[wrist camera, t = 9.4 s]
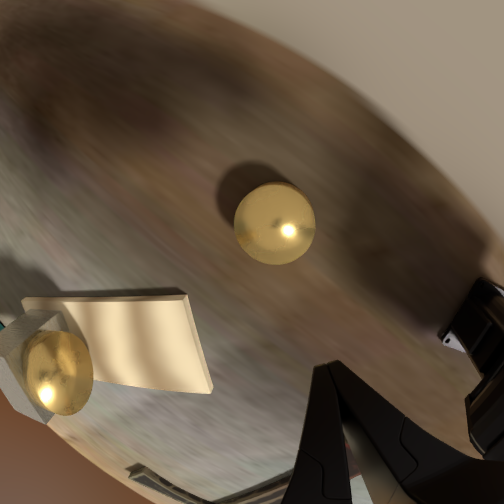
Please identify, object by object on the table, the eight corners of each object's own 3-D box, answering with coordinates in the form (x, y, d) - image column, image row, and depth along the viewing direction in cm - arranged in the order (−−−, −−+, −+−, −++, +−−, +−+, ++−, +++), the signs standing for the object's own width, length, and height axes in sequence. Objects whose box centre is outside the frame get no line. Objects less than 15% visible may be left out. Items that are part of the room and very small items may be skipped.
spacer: (325, 197, 20) (328, 204, 18) (297, 262, 22) (296, 275, 19) (255, 170, 20) (249, 173, 18) (232, 236, 22) (223, 247, 20)
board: (187, 294, 24) (182, 300, 23) (213, 386, 27) (210, 393, 26) (26, 297, 28) (20, 300, 27) (57, 366, 31) (52, 370, 30)
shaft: (73, 316, 25) (19, 363, 17) (103, 381, 27) (64, 432, 20) (-6, 309, 28) (-46, 338, 21) (18, 361, 30) (-16, 393, 23)
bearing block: (61, 310, 26) (4, 358, 18) (89, 372, 29) (45, 424, 20) (30, 308, 27) (-22, 348, 19) (56, 365, 30) (14, 409, 21)
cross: (443, 476, 27) (262, 544, 43) (441, 467, 29) (263, 538, 45) (232, 386, 25) (116, 486, 41) (236, 373, 27) (119, 480, 43)
